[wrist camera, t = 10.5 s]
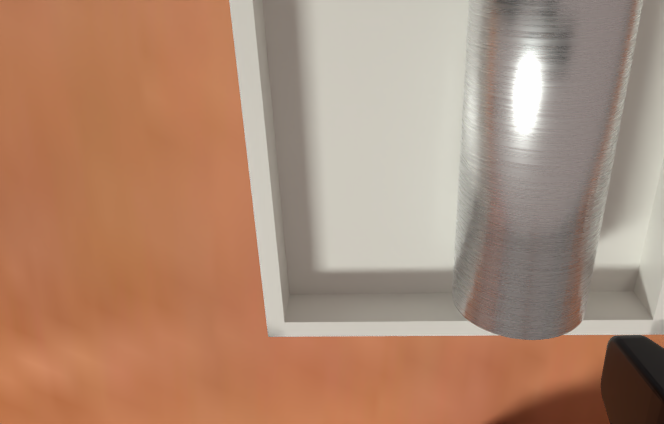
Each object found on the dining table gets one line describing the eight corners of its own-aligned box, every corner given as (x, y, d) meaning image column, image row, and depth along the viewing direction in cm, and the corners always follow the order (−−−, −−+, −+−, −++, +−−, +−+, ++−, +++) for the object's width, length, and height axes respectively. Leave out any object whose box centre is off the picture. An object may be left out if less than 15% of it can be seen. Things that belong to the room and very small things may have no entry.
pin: (448, -379, 12) (662, -472, 9) (559, -340, 14) (755, -404, 11) (425, 298, 19) (538, 359, 16) (500, 251, 21) (610, 298, 19)
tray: (196, -484, 13) (164, -558, 11) (830, -538, 12) (929, -629, 10) (277, 295, 23) (268, 336, 20) (638, 291, 22) (668, 334, 20)
